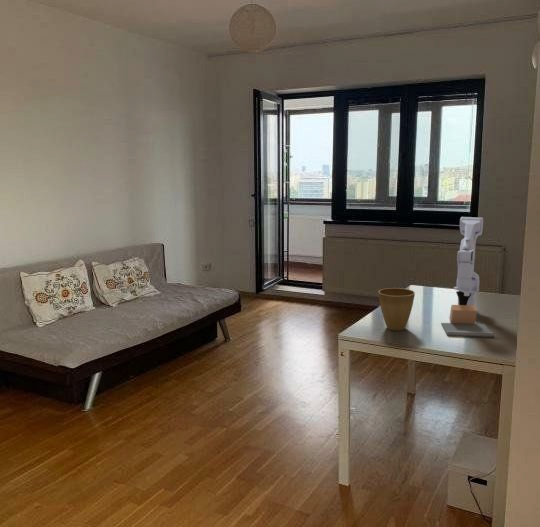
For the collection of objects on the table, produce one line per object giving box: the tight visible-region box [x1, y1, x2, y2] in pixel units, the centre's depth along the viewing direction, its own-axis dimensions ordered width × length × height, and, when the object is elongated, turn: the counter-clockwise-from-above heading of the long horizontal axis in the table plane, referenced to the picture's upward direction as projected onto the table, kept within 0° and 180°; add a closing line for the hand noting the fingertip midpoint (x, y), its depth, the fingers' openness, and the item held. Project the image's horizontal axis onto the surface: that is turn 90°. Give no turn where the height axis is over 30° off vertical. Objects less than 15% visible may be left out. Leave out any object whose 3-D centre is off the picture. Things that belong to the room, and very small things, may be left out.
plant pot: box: [378, 287, 416, 332], centre depth 229 cm, size 15×15×16 cm
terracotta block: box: [448, 304, 478, 324], centre depth 233 cm, size 4×10×8 cm, turn 81°
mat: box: [440, 322, 495, 339], centre depth 226 cm, size 16×18×2 cm
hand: (462, 308), depth 234 cm, fingers closed
